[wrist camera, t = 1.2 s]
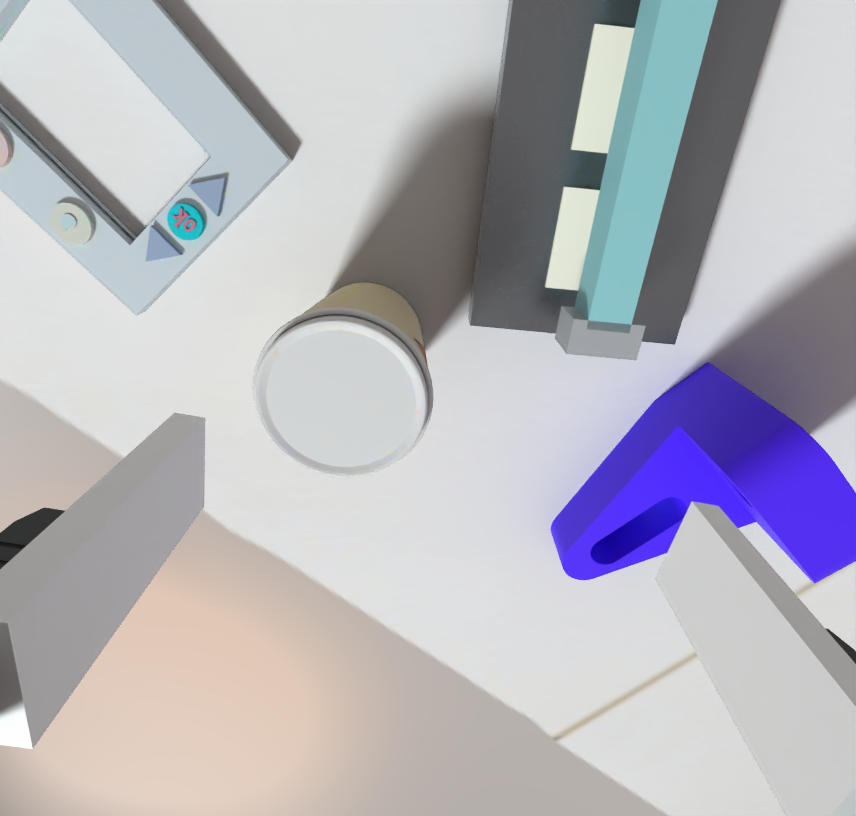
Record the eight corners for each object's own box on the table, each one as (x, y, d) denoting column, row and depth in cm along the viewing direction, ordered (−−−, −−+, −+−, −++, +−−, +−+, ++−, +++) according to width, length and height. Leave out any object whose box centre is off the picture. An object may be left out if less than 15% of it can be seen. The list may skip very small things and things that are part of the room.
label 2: (594, 24, 27) (595, 23, 27) (685, 35, 28) (687, 34, 27) (570, 149, 30) (571, 149, 30) (654, 158, 30) (655, 158, 30)
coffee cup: (400, 414, 39) (387, 506, 29) (284, 363, 38) (224, 441, 27) (455, 306, 36) (465, 364, 25) (331, 245, 34) (283, 278, 23)
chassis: (527, -142, 26) (544, -198, 22) (793, -109, 27) (857, -159, 23) (468, 317, 36) (472, 335, 32) (662, 336, 37) (690, 355, 33)
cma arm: (661, -185, 22) (695, -239, 19) (752, -173, 22) (800, -226, 19) (554, 337, 32) (566, 354, 29) (618, 343, 32) (636, 360, 29)
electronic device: (285, 159, 31) (132, 317, 35) (295, 160, 33) (149, 309, 37) (12, -162, 25) (-134, 72, 29) (44, -136, 27) (-96, 79, 31)
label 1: (563, 186, 31) (564, 186, 31) (645, 195, 31) (646, 195, 31) (544, 286, 33) (545, 287, 33) (620, 294, 33) (621, 294, 33)
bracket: (707, 361, 38) (816, 436, 27) (777, 456, 41) (900, 557, 30) (515, 499, 43) (543, 609, 32) (591, 574, 46) (639, 695, 35)
